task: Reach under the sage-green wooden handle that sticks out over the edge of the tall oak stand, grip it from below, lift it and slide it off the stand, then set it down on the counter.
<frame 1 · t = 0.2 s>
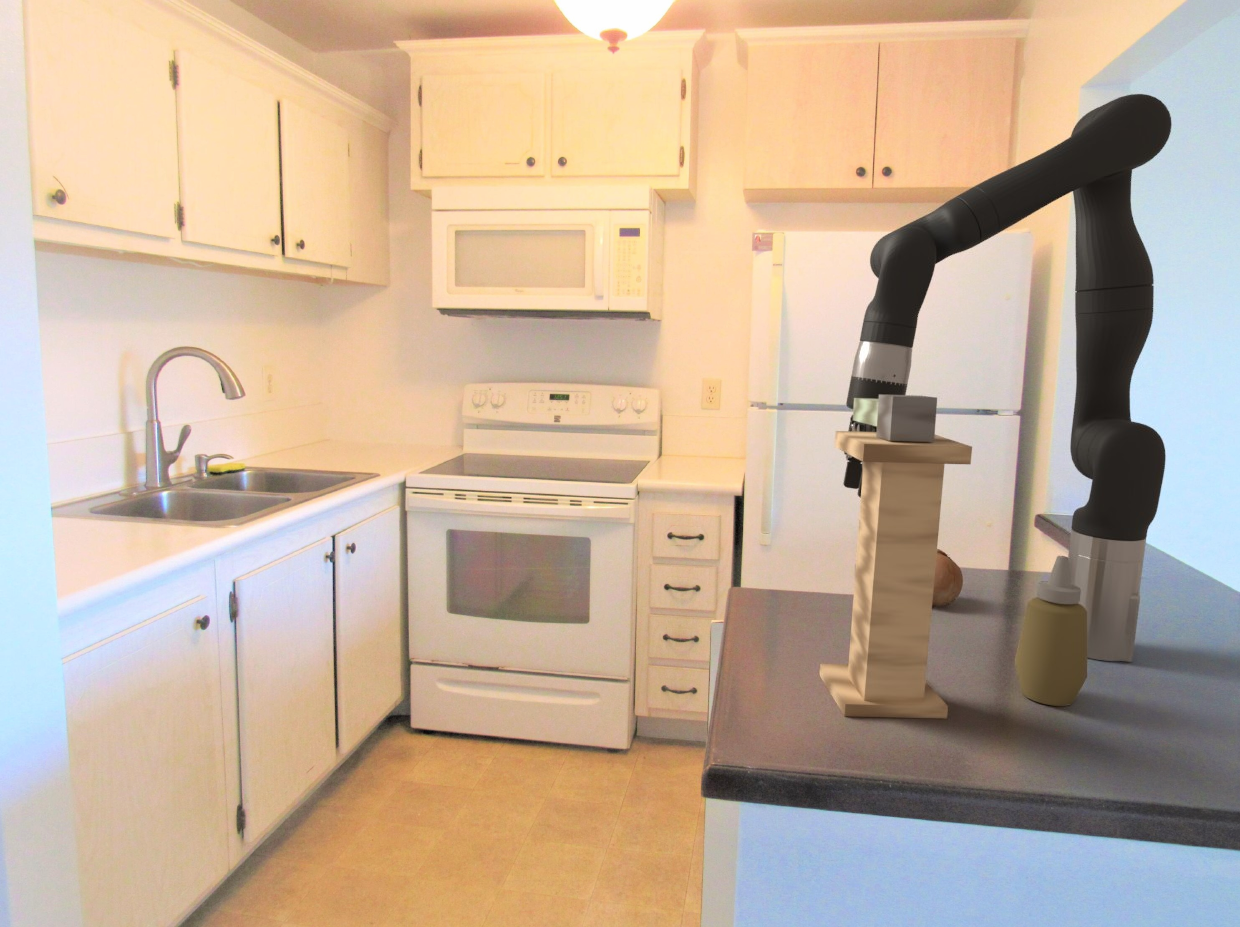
hand: (857, 492, 118), 22 cm above the counter, tool pointing down, fingers open, 8 cm apart
stand: (879, 695, 104), on the counter
squeeze bottle: (1046, 698, 105), on the counter
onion: (930, 604, 141), on the counter
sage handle: (904, 439, 98), point 32 cm above the counter, touching stand
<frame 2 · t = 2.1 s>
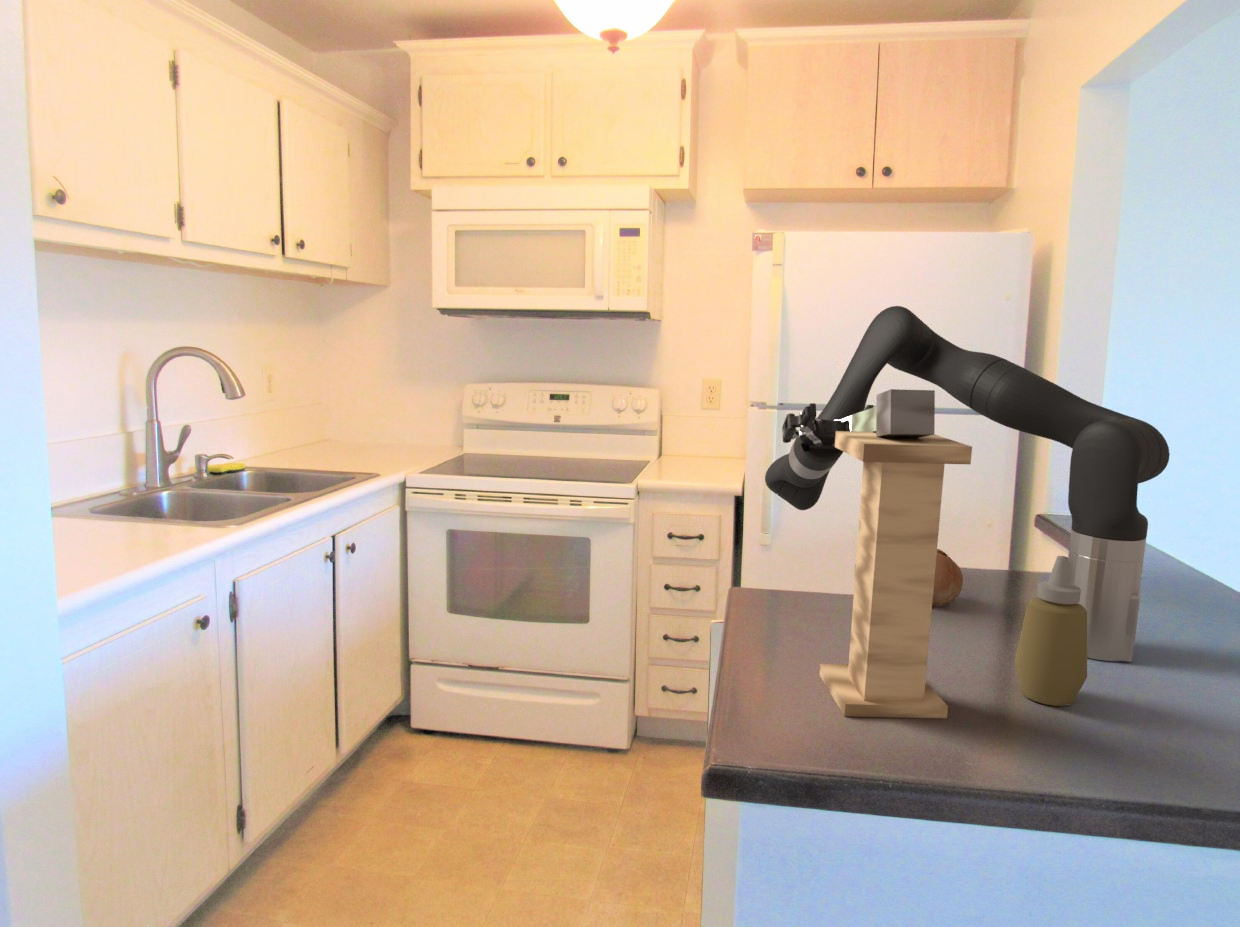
hand: (842, 409, 124), 33 cm above the counter, tool pointing upward, fingers open, 8 cm apart
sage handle: (904, 435, 98), point 32 cm above the counter, tilted 12°, touching stand
everything else where it was.
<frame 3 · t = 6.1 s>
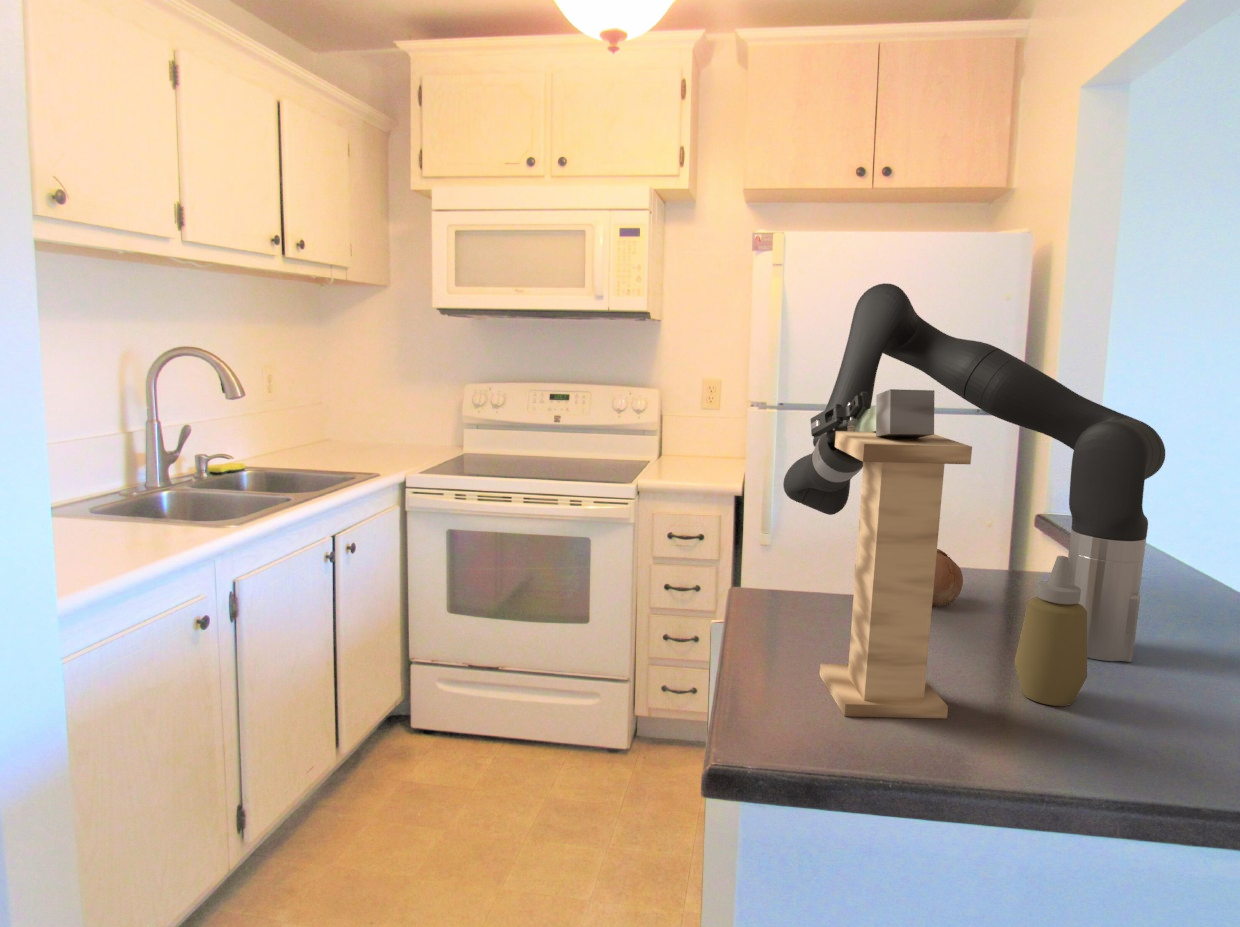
hand: (879, 399, 107), 36 cm above the counter, tool pointing upward, fingers closed on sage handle, 3 cm apart
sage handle: (904, 435, 98), point 33 cm above the counter, tilted 12°, touching gripper, stand
everything else where it was.
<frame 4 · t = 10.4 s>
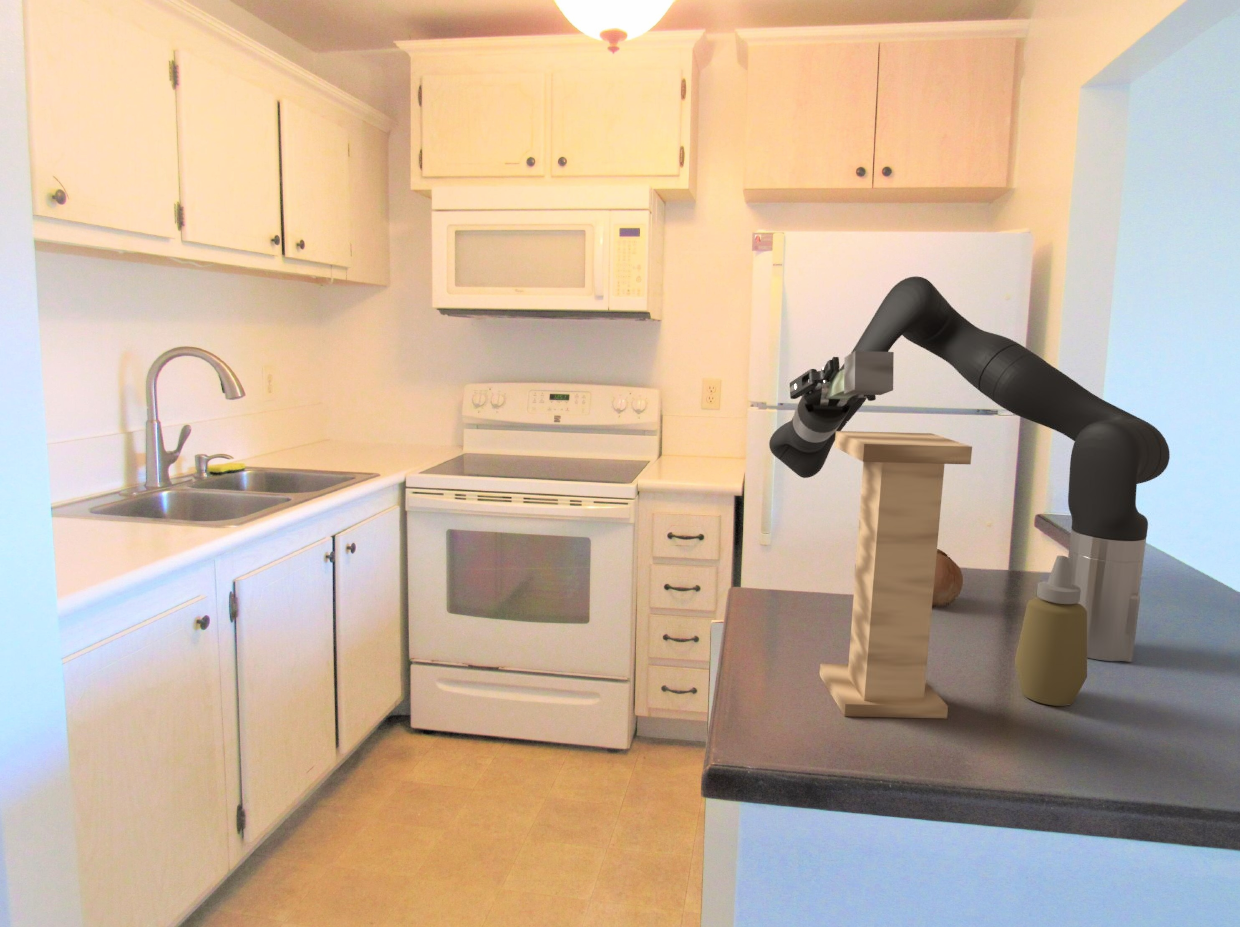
hand: (849, 363, 121), 40 cm above the counter, tool pointing upward, fingers closed on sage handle, 3 cm apart
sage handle: (868, 392, 112), point 36 cm above the counter, tilted 11°, touching gripper
everything else where it was.
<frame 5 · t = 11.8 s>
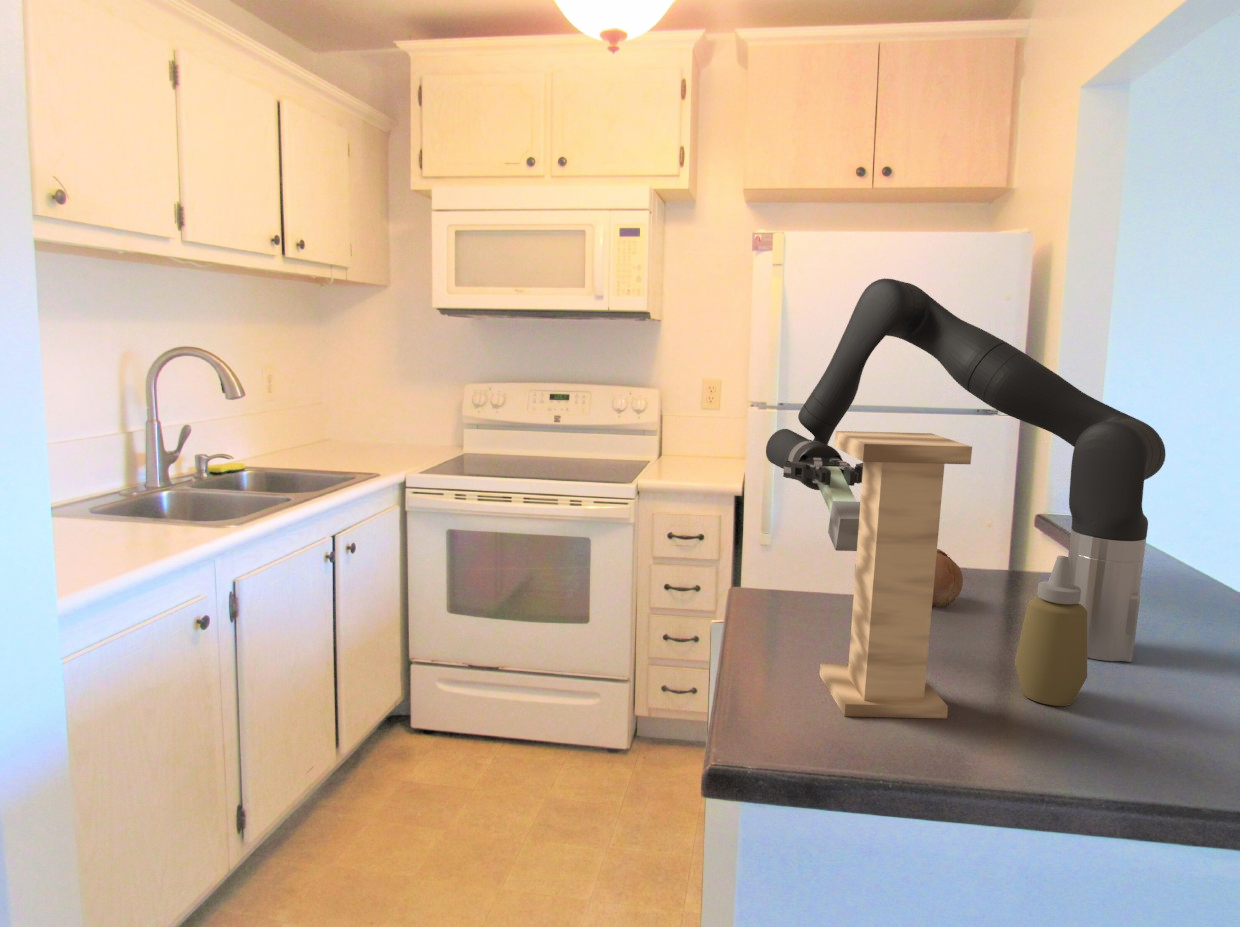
hand: (840, 478, 123), 23 cm above the counter, tool horizontal, fingers closed on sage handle, 3 cm apart
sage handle: (849, 541, 117), point 15 cm above the counter, tilted 16°, touching gripper
everything else where it was.
when the fingers open (11 cm above the counter, at t = 15.0 s): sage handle drops 3 cm, on the counter.
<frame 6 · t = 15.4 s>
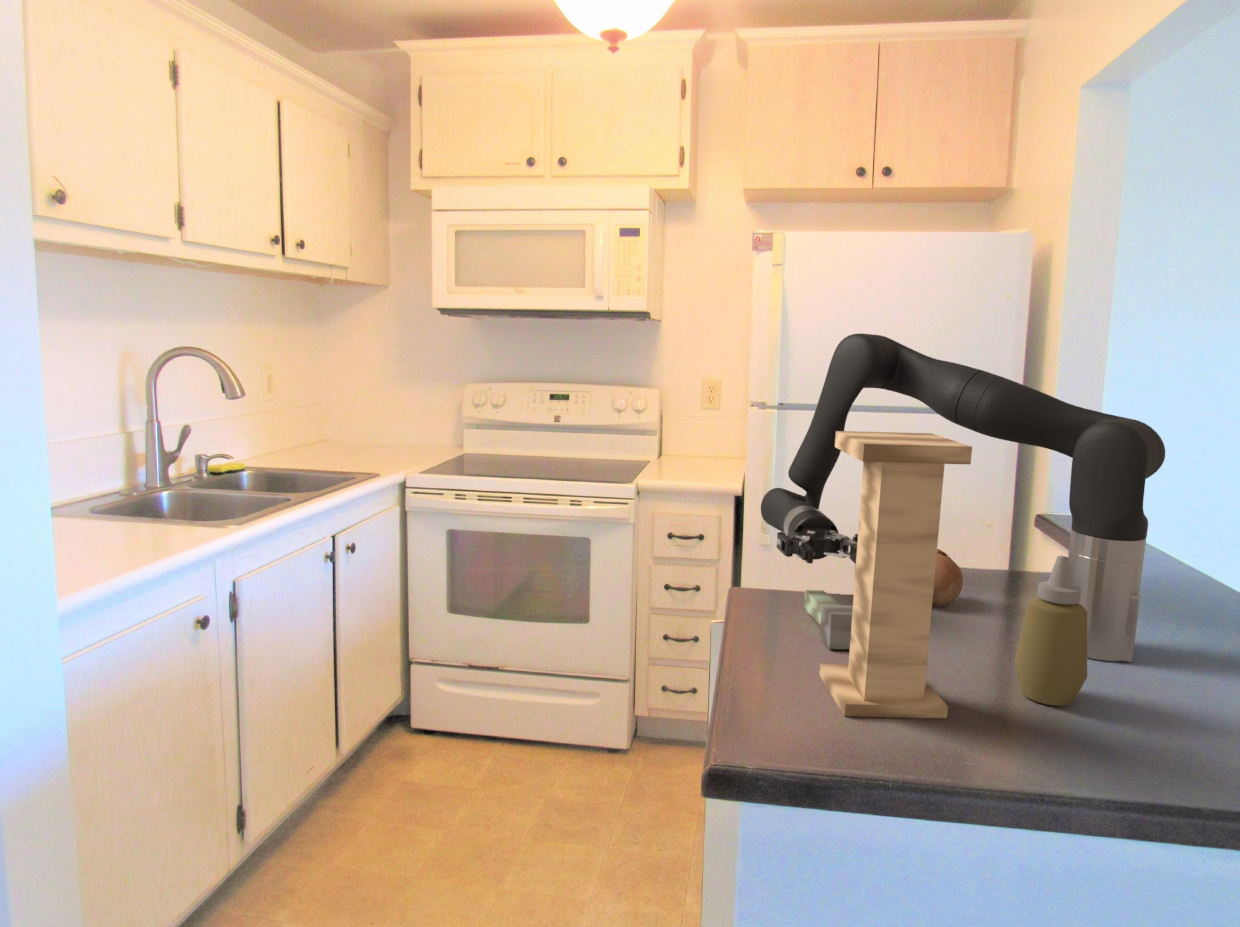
hand: (835, 557, 126), 11 cm above the counter, tool horizontal, fingers open, 6 cm apart
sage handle: (841, 643, 121), on the counter
everything else where it was.
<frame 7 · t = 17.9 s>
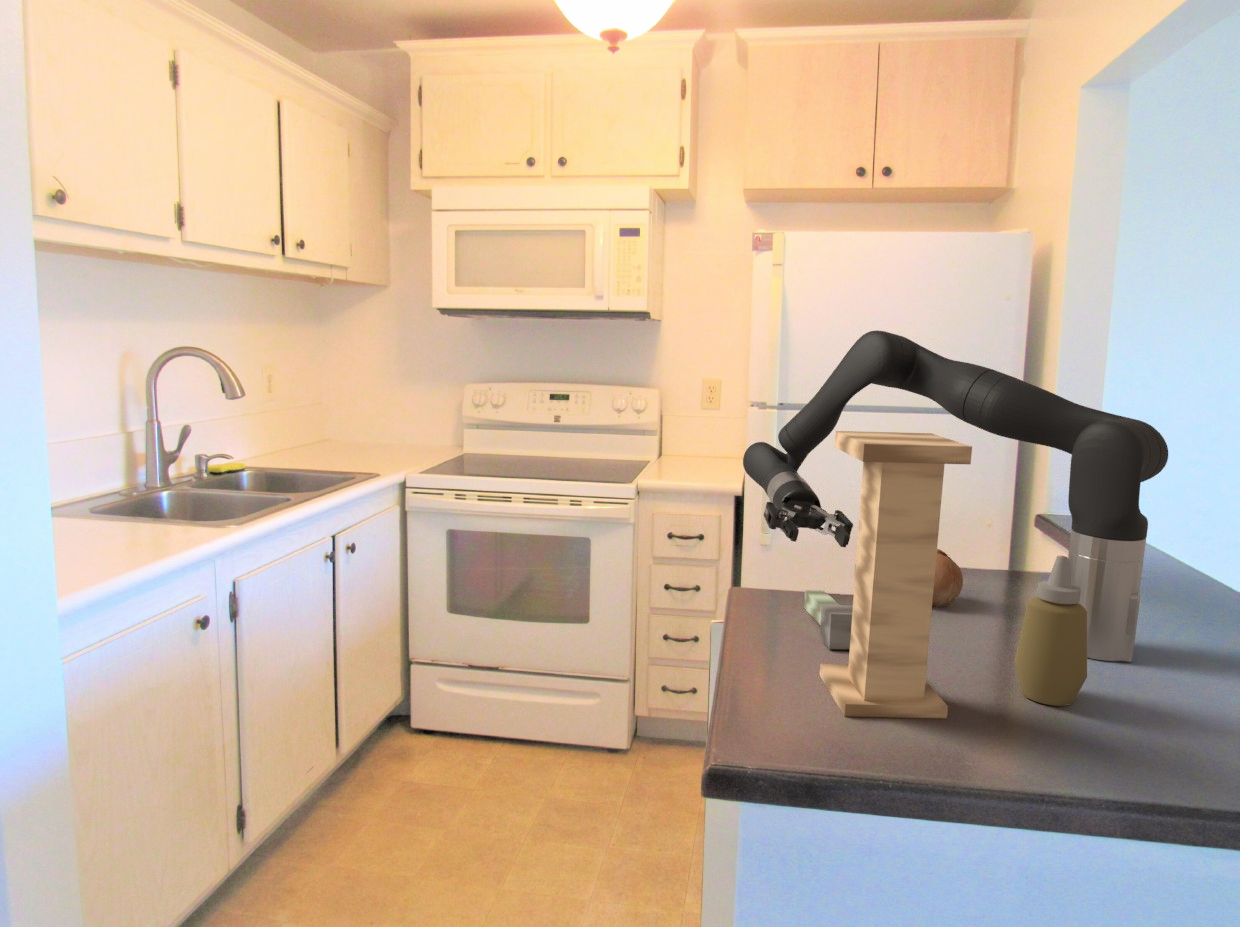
hand: (820, 539, 137), 11 cm above the counter, tool horizontal, fingers open, 8 cm apart
nothing on the counter moved.
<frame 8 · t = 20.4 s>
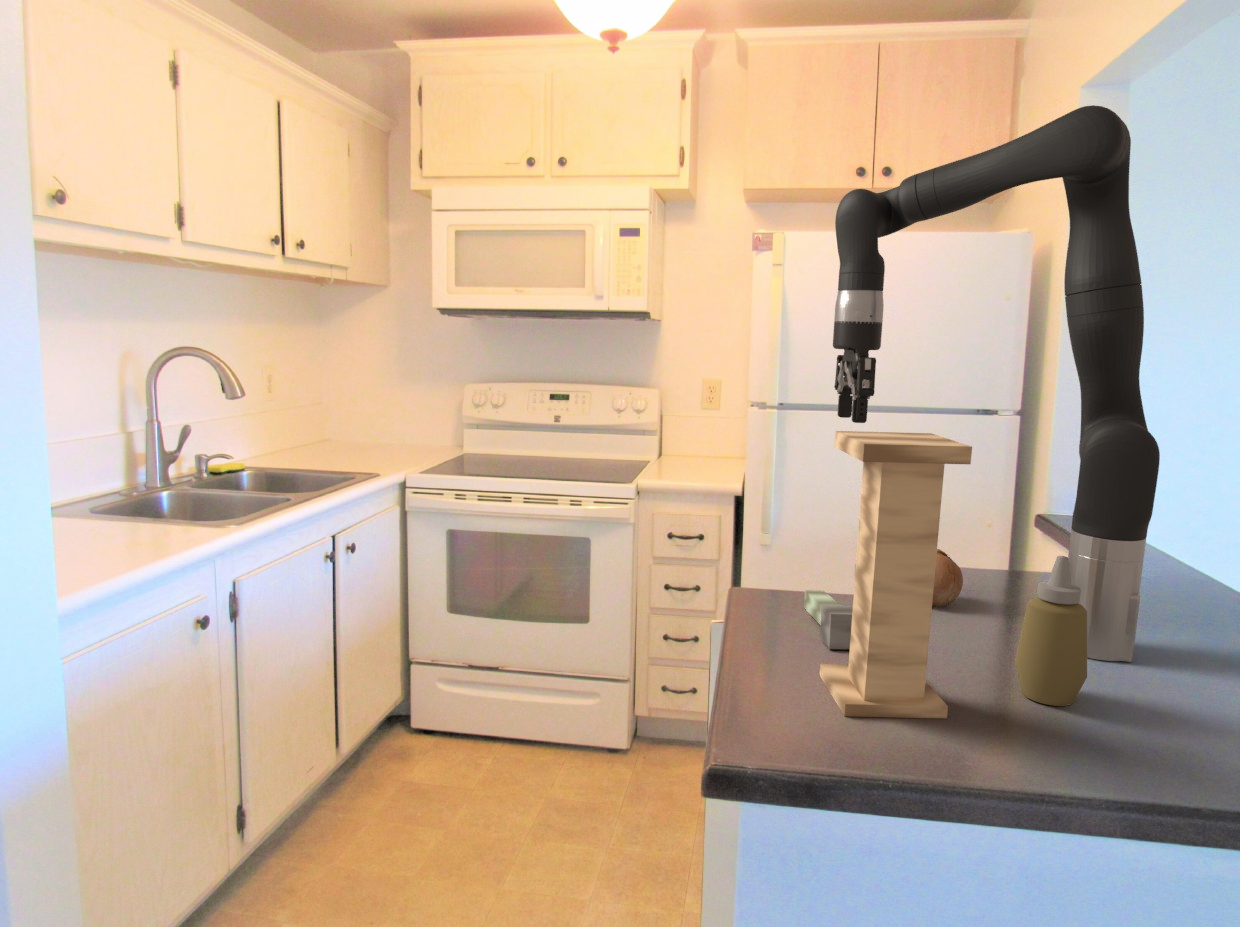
hand: (851, 419, 139), 30 cm above the counter, tool pointing down, fingers open, 8 cm apart
nothing on the counter moved.
at the end: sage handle touching counter; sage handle inside the target area (2.0 cm from its centre), on the counter; the gripper is holding nothing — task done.
